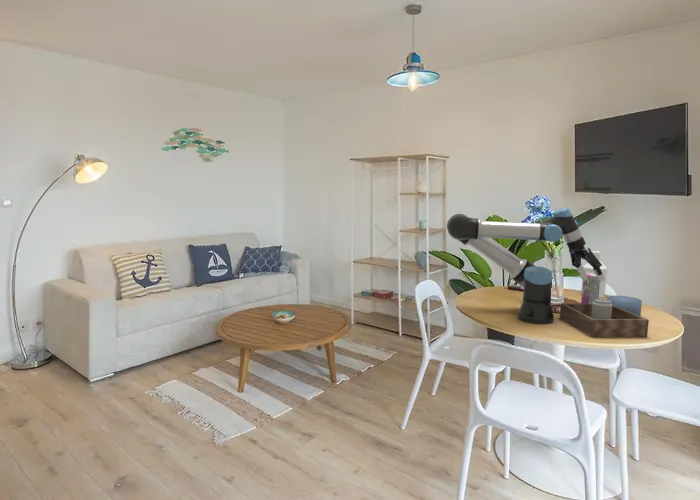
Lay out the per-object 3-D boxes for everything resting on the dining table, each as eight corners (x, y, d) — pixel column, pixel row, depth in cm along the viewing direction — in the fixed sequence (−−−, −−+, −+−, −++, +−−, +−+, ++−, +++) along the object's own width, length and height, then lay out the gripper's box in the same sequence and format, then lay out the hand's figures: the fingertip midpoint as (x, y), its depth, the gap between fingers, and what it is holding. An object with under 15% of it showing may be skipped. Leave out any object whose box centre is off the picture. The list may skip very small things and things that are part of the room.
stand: (617, 319, 200) (618, 302, 199) (599, 311, 214) (600, 295, 213) (647, 319, 201) (649, 302, 200) (627, 311, 214) (629, 295, 213)
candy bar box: (580, 303, 231) (582, 272, 229) (590, 303, 230) (593, 272, 228) (587, 308, 220) (589, 276, 218) (598, 308, 219) (600, 276, 217)
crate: (591, 336, 176) (593, 320, 175) (559, 318, 202) (560, 303, 201) (647, 336, 176) (648, 320, 176) (608, 318, 203) (609, 303, 202)
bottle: (586, 292, 257) (589, 249, 253) (608, 295, 248) (612, 251, 244) (577, 295, 249) (580, 251, 246) (600, 299, 240) (603, 253, 237)
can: (588, 327, 189) (590, 299, 188) (593, 323, 195) (595, 297, 193) (607, 330, 184) (609, 303, 183) (612, 327, 189) (615, 300, 188)
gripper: (597, 235, 194) (617, 278, 194) (566, 236, 218) (585, 274, 219) (582, 242, 193) (602, 285, 194) (553, 243, 218) (572, 281, 219)
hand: (593, 280), depth 206 cm, fingers open, 13 cm apart
